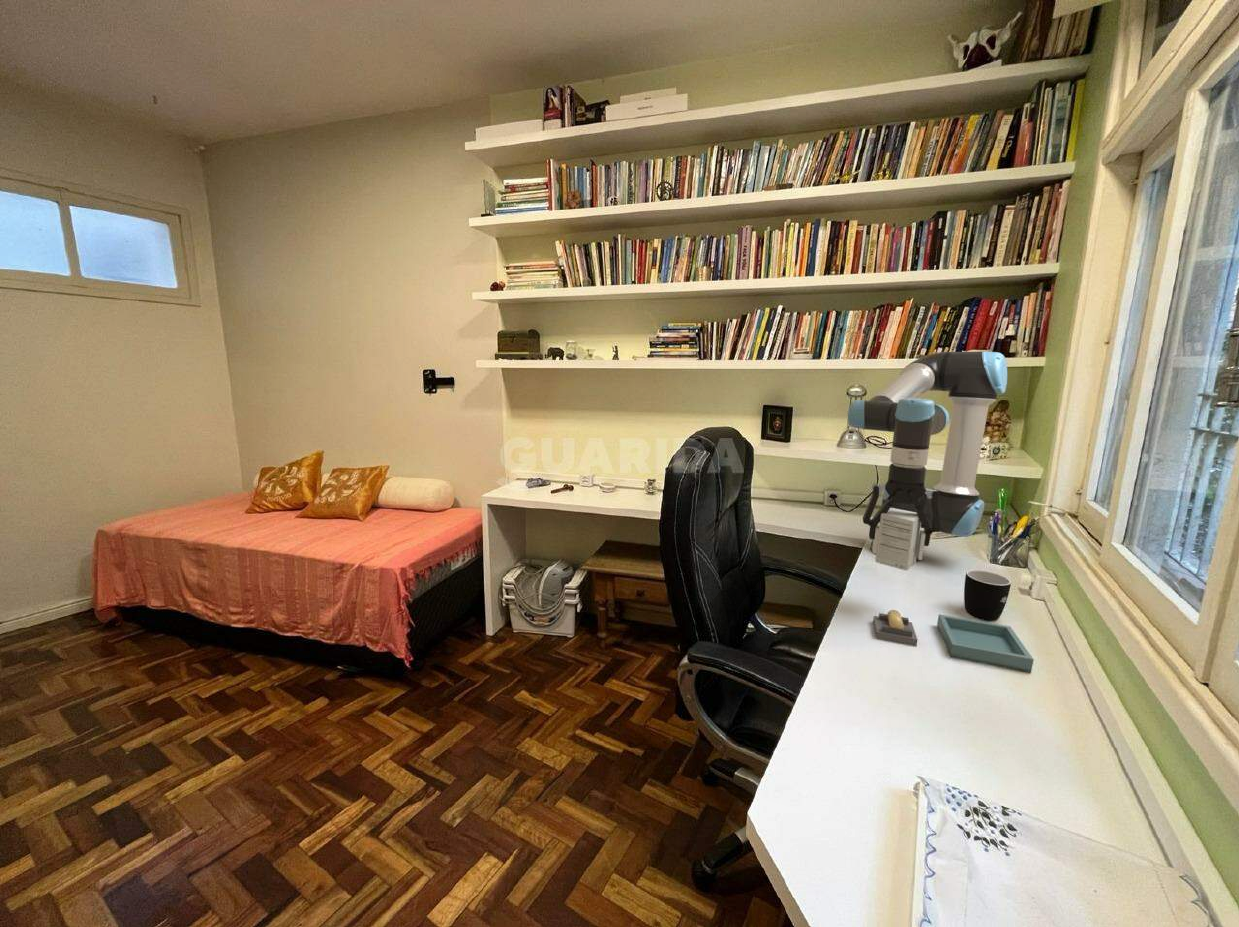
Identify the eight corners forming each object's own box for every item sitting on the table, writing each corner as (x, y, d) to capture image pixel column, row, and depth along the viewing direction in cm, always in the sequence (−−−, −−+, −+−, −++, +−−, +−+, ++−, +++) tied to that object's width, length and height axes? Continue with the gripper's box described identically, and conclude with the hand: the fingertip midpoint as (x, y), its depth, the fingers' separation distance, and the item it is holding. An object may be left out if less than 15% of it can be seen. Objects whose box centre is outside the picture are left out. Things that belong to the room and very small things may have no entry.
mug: (1001, 628, 119) (1009, 588, 117) (956, 615, 125) (963, 577, 123) (1007, 610, 128) (1014, 573, 126) (965, 599, 133) (971, 563, 131)
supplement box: (884, 554, 129) (890, 506, 126) (916, 562, 124) (923, 513, 121) (873, 562, 124) (880, 513, 121) (907, 571, 118) (914, 520, 116)
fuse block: (873, 621, 121) (875, 604, 120) (910, 628, 118) (913, 611, 117) (876, 638, 114) (878, 620, 113) (916, 646, 111) (919, 627, 110)
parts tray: (936, 625, 120) (938, 614, 119) (1008, 638, 115) (1010, 626, 114) (950, 657, 107) (952, 644, 106) (1031, 672, 102) (1033, 659, 101)
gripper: (858, 464, 119) (848, 553, 124) (966, 472, 111) (951, 567, 116) (856, 458, 126) (847, 543, 130) (958, 465, 118) (944, 555, 123)
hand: (896, 554), depth 123 cm, fingers closed on supplement box, 9 cm apart
